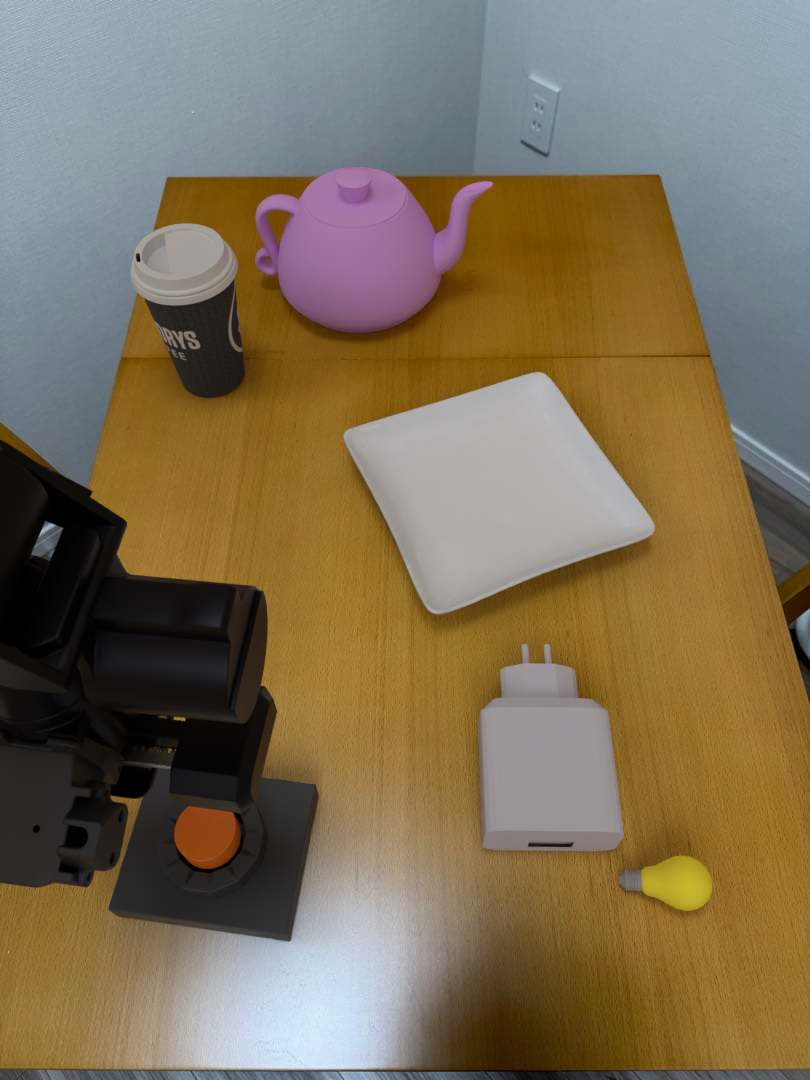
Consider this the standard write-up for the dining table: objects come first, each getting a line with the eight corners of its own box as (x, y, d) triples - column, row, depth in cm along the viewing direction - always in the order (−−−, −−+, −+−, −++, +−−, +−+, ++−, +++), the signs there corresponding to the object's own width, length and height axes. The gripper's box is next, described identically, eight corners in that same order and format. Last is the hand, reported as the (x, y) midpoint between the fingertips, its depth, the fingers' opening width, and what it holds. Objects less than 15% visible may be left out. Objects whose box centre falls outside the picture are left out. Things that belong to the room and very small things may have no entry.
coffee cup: (181, 339, 91) (143, 214, 78) (269, 346, 90) (245, 221, 77) (154, 404, 85) (108, 281, 73) (247, 413, 84) (217, 290, 72)
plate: (655, 551, 74) (664, 528, 71) (430, 636, 70) (431, 615, 67) (540, 390, 86) (544, 365, 83) (340, 455, 81) (338, 430, 78)
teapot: (246, 340, 90) (221, 227, 79) (271, 237, 100) (252, 124, 89) (484, 347, 89) (493, 234, 78) (485, 242, 99) (493, 128, 88)
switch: (174, 864, 56) (166, 856, 55) (190, 804, 59) (183, 795, 57) (233, 873, 56) (227, 864, 54) (247, 812, 58) (242, 802, 56)
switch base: (117, 916, 58) (98, 903, 55) (160, 773, 64) (146, 753, 60) (290, 941, 57) (282, 929, 54) (319, 794, 63) (313, 775, 59)
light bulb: (714, 908, 58) (715, 914, 54) (623, 904, 59) (618, 909, 56) (710, 855, 59) (710, 857, 55) (620, 852, 60) (615, 854, 57)
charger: (590, 659, 68) (613, 852, 60) (474, 658, 69) (481, 850, 60) (600, 630, 64) (626, 832, 56) (477, 630, 65) (485, 831, 56)
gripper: (-255, 811, 35) (-77, 898, 48) (190, 877, 33) (250, 948, 46) (-122, 581, 41) (3, 712, 54) (257, 627, 40) (294, 751, 52)
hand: (131, 780), depth 51 cm, fingers closed
